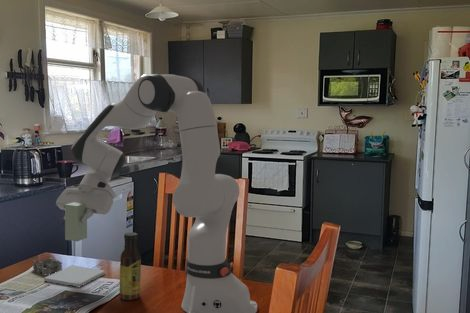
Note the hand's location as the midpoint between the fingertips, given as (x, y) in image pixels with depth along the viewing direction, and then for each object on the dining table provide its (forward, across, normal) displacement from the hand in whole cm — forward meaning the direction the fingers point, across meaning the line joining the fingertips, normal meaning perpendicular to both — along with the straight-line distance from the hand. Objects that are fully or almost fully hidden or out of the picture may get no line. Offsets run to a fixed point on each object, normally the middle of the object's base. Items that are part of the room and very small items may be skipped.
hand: (73, 221), depth 155 cm
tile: (+14, 0, +14) cm, 20 cm away
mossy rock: (+12, -14, +16) cm, 25 cm away
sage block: (+4, 0, +5) cm, 6 cm away
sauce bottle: (+19, +26, +10) cm, 33 cm away
